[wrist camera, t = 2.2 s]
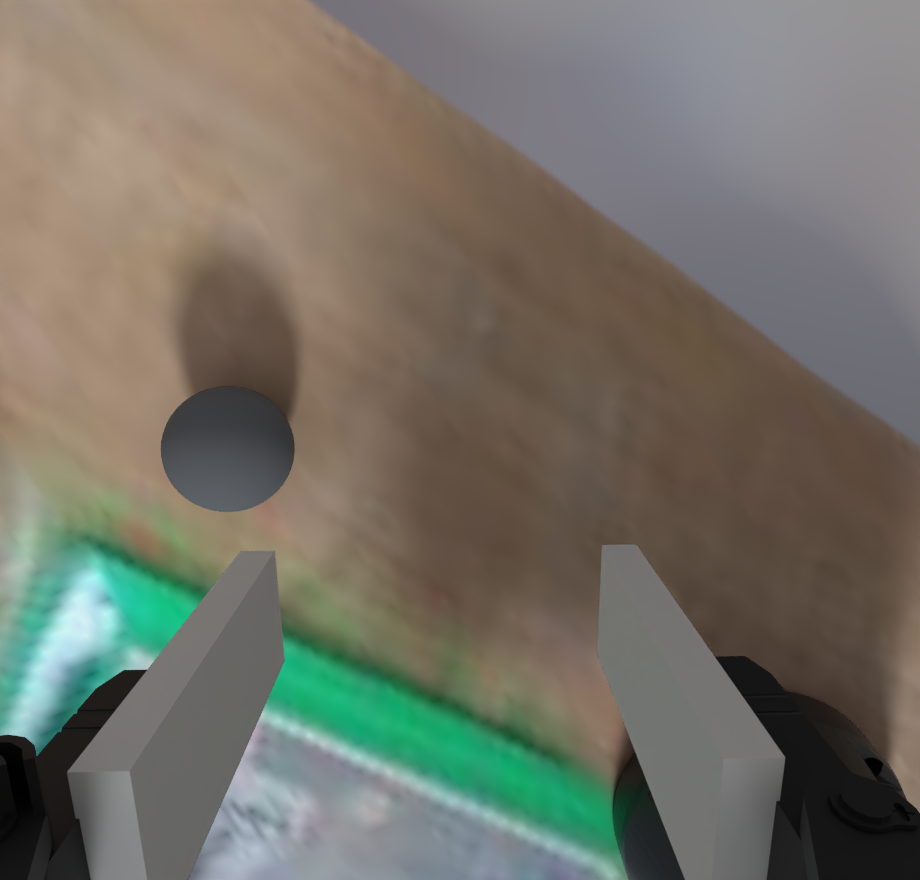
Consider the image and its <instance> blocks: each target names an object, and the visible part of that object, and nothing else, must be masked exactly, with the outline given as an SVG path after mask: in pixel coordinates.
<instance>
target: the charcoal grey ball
mask: <svg viewBox="0 0 920 880" xmlns="http://www.w3.org/2000/svg"><path fill="white" fill-rule="evenodd" d="M161 457H162V462H163V466H164V469H165V472H166V474H167V476H168V478H169V480H170V482H171V483H172V485H173V486H174V487H175V488H176V490H177V491H178V492H179V493H180V494H181V495H182V496H184V497H185V498H186V499H188V500H189V501H191V502H192V503H194V504H196V505H198V506H201V507H203V508H206V509H209V510H213V511H219V512H233V511H241V510H246V509H249V508H252V507H254V506H257V505H259V504H261V503H263V502H264V501H266V500H267V499H269V498H270V497H271V496H272V495H273V494H274V493H276V492H277V491H278V490H279V488H280V487H281V486H282V485H283V483H284V482H285V480H286V478H287V477H288V475H289V472H290V470H291V467H292V464H293V459H294V438H293V434H292V430H291V428H290V425H289V423H288V421H287V419H286V418H285V416H284V414H283V413H282V412H281V411H280V409H279V408H278V407H277V406H276V405H275V404H274V403H273V402H271V401H270V400H269V399H268V398H266V397H264V396H263V395H261V394H259V393H257V392H255V391H252V390H249V389H246V388H241V387H233V386H222V387H215V388H211V389H207V390H204V391H201V392H199V393H197V394H195V395H193V396H191V397H190V398H188V399H187V400H186V401H184V402H183V403H182V404H181V405H180V406H179V407H178V408H177V409H176V410H175V412H174V413H173V414H172V416H171V417H170V419H169V420H168V422H167V424H166V427H165V429H164V432H163V436H162V441H161Z"/></svg>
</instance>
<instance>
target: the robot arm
mask: <svg viewBox="0 0 920 880" xmlns="http://www.w3.org/2000/svg"><path fill="white" fill-rule="evenodd" d="M597 655H598V658H599V660H600V663H601V665H602V668H603V670H604V673H605V676H606V678H607V681H608V683H609V686H610V688H611V691H612V694H613V696H614V699H615V701H616V704H617V706H618V709H619V712H620V714H621V717H622V719H623V722H624V724H625V727H626V730H627V732H628V735H629V737H630V740H631V742H632V745H633V747H634V750H635V753H634V755H633V756H632V758H631V759H630V761H629V762H628V764H627V766H626V768H625V769H624V772H623V774H622V776H621V778H620V781H619V784H618V787H617V790H616V794H615V799H614V807H613V824H614V831H615V836H616V840H617V844H618V847H619V850H620V854H621V857H622V861H623V864H624V867H625V871H626V873H627V876H628V879H629V880H920V813H919V812H918V810H917V809H916V808H915V807H914V806H913V805H912V804H910V803H909V802H908V801H907V799H906V797H905V795H904V792H903V790H902V788H901V785H900V783H899V781H898V779H897V777H896V775H895V774H894V772H893V770H892V769H891V767H890V766H889V764H888V763H887V761H886V760H885V758H884V757H883V756H882V755H881V754H880V752H879V751H878V750H877V749H876V748H875V747H874V746H873V745H872V743H871V742H870V741H869V740H868V739H867V738H866V737H865V736H864V735H863V733H862V732H861V731H860V730H859V729H858V728H857V727H856V726H855V725H854V724H853V723H852V722H851V721H850V720H849V719H847V718H846V717H845V716H844V715H842V714H841V713H840V712H838V711H837V710H835V709H833V708H832V707H830V706H828V705H826V704H824V703H822V702H820V701H817V700H815V699H812V698H809V697H806V696H802V695H798V694H794V693H789V692H786V691H785V690H784V689H783V688H782V687H781V685H780V684H779V683H778V682H777V680H776V679H775V678H774V677H773V676H772V674H771V673H770V672H768V671H766V670H765V669H763V668H762V667H760V666H759V665H757V664H756V663H754V662H753V661H751V660H750V659H748V658H747V657H745V656H728V657H715V656H714V655H713V654H712V652H711V651H710V649H709V648H708V646H707V645H706V644H705V642H704V641H703V639H702V638H701V636H700V635H699V634H698V632H697V631H696V629H695V628H694V626H693V625H692V624H691V622H690V621H689V619H688V618H687V616H686V615H685V614H684V612H683V611H682V609H681V608H680V606H679V605H678V604H677V602H676V601H675V599H674V598H673V596H672V595H671V594H670V592H669V591H668V589H667V588H666V586H665V585H664V584H663V582H662V581H661V579H660V578H659V576H658V575H657V574H656V572H655V571H654V569H653V568H652V567H651V565H650V564H649V562H648V561H647V559H646V558H645V557H644V555H643V554H642V552H641V551H640V549H639V548H638V547H637V545H636V544H630V545H602V555H601V579H600V603H599V627H598V651H597ZM284 661H285V659H284V648H283V637H282V626H281V615H280V603H279V592H278V581H277V570H276V559H275V551H240V553H239V554H238V555H237V556H236V558H235V559H234V560H233V561H232V563H231V564H230V565H229V567H228V568H227V569H226V570H225V572H224V573H223V574H222V576H221V577H220V578H219V579H218V581H217V582H216V583H215V584H214V586H213V587H212V588H211V590H210V591H209V592H208V593H207V595H206V596H205V597H204V598H203V600H202V601H201V602H200V604H199V605H198V606H197V607H196V609H195V610H194V611H193V612H192V614H191V615H190V616H189V618H188V619H187V620H186V621H185V623H184V624H183V625H182V626H181V628H180V629H179V630H178V632H177V633H176V634H175V635H174V637H173V638H172V639H171V640H170V642H169V643H168V644H167V646H166V647H165V648H164V649H163V651H162V652H161V653H160V654H159V656H158V657H157V658H156V660H155V661H154V662H153V663H152V665H151V666H150V667H149V668H148V670H124V671H122V672H121V673H119V674H118V675H116V676H115V677H113V678H112V679H110V680H109V681H107V682H105V683H104V684H102V685H101V686H99V687H98V688H96V689H95V691H94V692H93V693H92V694H91V695H90V696H89V697H88V699H87V700H86V701H85V702H84V703H83V704H82V705H81V707H80V708H79V709H78V712H77V714H74V715H73V716H72V717H71V718H70V719H69V720H68V721H67V723H66V724H65V725H64V726H63V727H62V731H61V732H58V733H57V734H56V735H55V736H54V737H53V739H52V740H51V741H50V742H49V743H48V744H47V745H46V747H45V748H44V749H43V750H42V751H41V752H40V753H39V755H38V756H36V751H35V746H34V745H33V744H32V743H31V742H30V741H29V740H27V739H26V738H25V737H19V736H12V735H3V736H0V880H188V878H189V876H190V874H191V871H192V869H193V867H194V864H195V862H196V860H197V858H198V855H199V853H200V851H201V849H202V846H203V844H204V842H205V840H206V837H207V835H208V833H209V831H210V828H211V826H212V824H213V822H214V819H215V817H216V815H217V812H218V810H219V808H220V806H221V803H222V801H223V799H224V797H225V794H226V792H227V790H228V788H229V785H230V783H231V781H232V779H233V776H234V774H235V772H236V769H237V767H238V765H239V763H240V760H241V758H242V756H243V754H244V751H245V749H246V747H247V745H248V742H249V740H250V738H251V736H252V733H253V731H254V729H255V727H256V724H257V722H258V720H259V717H260V715H261V713H262V711H263V708H264V706H265V704H266V702H267V699H268V697H269V695H270V693H271V690H272V688H273V686H274V684H275V681H276V679H277V677H278V675H279V672H280V670H281V668H282V665H283V663H284Z"/></svg>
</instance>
